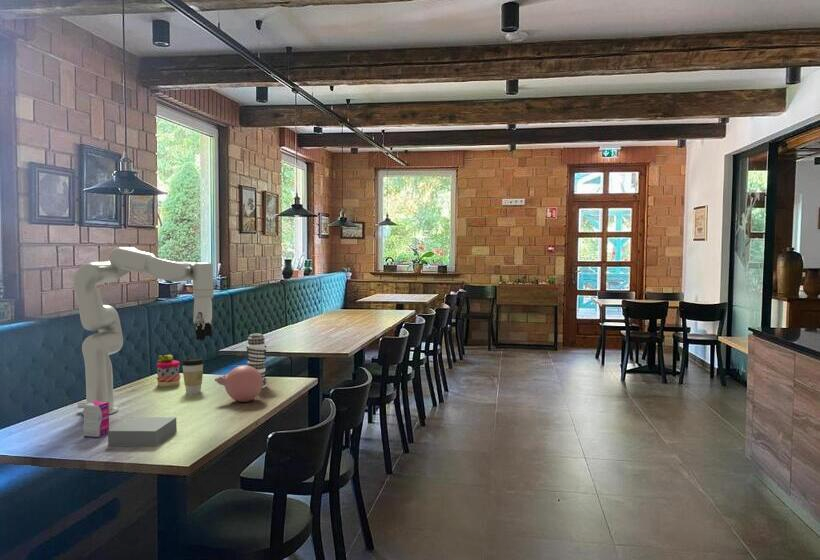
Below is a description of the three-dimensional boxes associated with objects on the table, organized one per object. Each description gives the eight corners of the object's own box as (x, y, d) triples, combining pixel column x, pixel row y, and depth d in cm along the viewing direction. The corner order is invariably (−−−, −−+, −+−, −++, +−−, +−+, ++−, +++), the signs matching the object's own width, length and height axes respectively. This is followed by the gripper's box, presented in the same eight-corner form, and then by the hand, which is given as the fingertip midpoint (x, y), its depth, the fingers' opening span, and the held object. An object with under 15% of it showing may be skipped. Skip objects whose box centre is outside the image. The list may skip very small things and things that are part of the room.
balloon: (221, 396, 260) (221, 362, 259) (267, 396, 259) (266, 362, 259) (209, 406, 244) (208, 369, 244) (257, 406, 244) (256, 369, 243)
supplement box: (98, 438, 203) (97, 405, 202) (83, 437, 204) (82, 404, 203) (110, 433, 208) (109, 401, 208) (95, 432, 209) (94, 400, 209)
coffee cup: (209, 391, 270) (208, 358, 269) (191, 395, 262) (190, 362, 261) (195, 388, 275) (194, 356, 275) (177, 393, 267) (176, 360, 266)
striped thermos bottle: (251, 384, 284) (250, 332, 283) (270, 384, 283) (269, 332, 281) (243, 388, 275) (242, 335, 274) (262, 389, 274) (261, 335, 272)
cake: (160, 382, 289) (160, 352, 288) (183, 382, 290) (182, 351, 289) (153, 387, 278) (153, 356, 278) (177, 386, 279) (176, 355, 279)
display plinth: (108, 445, 195) (107, 431, 194) (132, 431, 211) (131, 417, 210) (156, 446, 194) (155, 431, 194) (176, 431, 210) (176, 417, 210)
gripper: (199, 292, 238) (200, 334, 239) (186, 295, 221) (187, 341, 222) (218, 292, 239) (219, 334, 240) (207, 295, 222) (208, 340, 222)
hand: (204, 337), depth 231 cm, fingers open, 9 cm apart
